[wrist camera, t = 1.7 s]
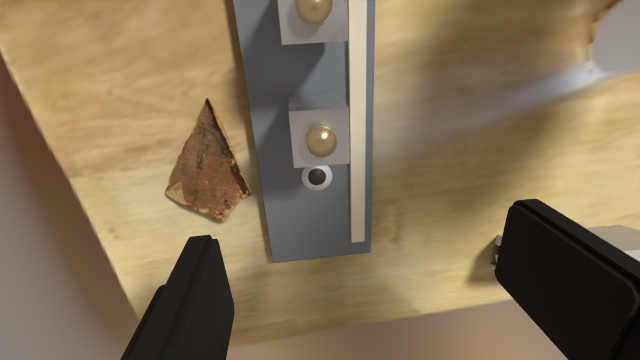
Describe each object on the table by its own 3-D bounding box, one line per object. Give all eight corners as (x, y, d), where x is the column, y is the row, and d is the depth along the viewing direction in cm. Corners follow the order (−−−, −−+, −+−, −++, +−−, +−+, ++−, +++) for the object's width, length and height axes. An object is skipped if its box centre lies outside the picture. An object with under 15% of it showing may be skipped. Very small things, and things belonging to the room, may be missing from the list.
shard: (210, 94, 28) (206, 98, 26) (284, 136, 30) (284, 141, 28) (165, 188, 31) (159, 196, 29) (234, 218, 33) (232, 228, 31)
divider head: (288, 95, 26) (288, 115, 19) (335, 92, 26) (351, 110, 19) (292, 140, 27) (294, 173, 21) (336, 137, 28) (352, 168, 21)
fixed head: (277, -16, 22) (273, -41, 15) (331, -18, 23) (350, -44, 16) (283, 44, 24) (281, 45, 17) (333, 41, 24) (351, 40, 17)
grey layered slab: (487, 267, 39) (552, 306, 29) (486, 231, 39) (553, 258, 29) (606, 256, 40) (708, 290, 30) (607, 221, 40) (711, 244, 30)
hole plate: (229, -40, 23) (224, -47, 21) (371, -46, 24) (378, -53, 22) (273, 254, 35) (272, 265, 33) (367, 244, 36) (371, 255, 34)
